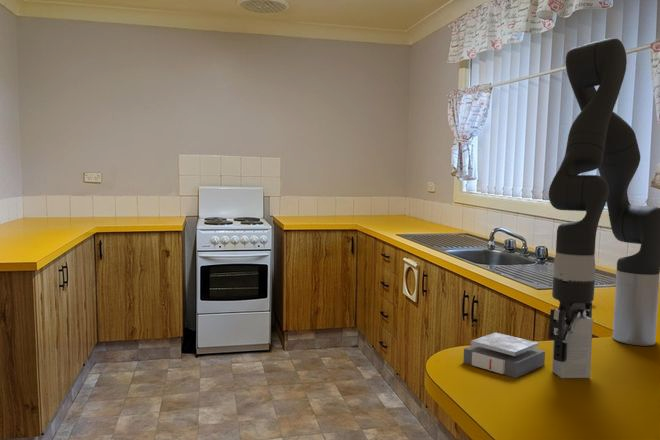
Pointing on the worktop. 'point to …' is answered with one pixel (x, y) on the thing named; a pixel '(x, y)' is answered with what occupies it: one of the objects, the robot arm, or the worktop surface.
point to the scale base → (504, 360)
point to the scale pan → (505, 343)
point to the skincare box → (576, 352)
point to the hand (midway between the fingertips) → (569, 356)
